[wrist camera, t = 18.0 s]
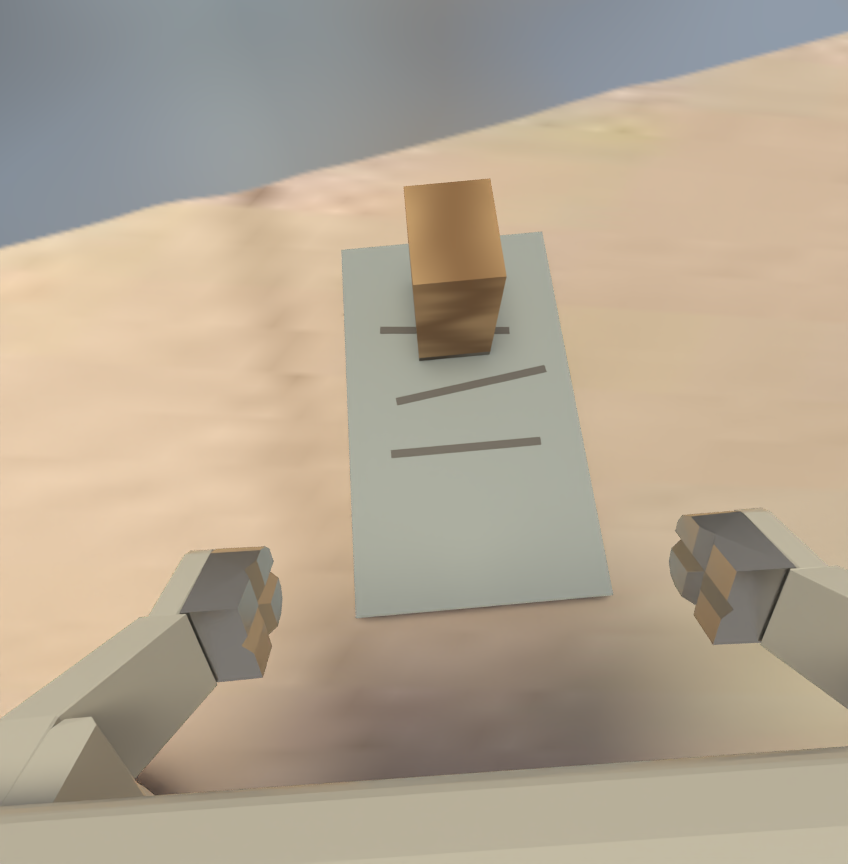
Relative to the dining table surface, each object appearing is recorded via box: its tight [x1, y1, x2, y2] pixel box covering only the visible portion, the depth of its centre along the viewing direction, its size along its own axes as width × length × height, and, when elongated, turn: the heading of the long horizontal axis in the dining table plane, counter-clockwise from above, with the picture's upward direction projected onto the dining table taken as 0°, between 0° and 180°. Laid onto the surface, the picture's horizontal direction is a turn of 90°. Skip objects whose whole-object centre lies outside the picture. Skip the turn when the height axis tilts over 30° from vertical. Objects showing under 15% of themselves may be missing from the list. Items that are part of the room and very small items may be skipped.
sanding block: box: [404, 179, 507, 361], centre depth 28 cm, size 4×6×8 cm
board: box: [342, 232, 613, 618], centre depth 30 cm, size 14×24×2 cm, turn 5°
